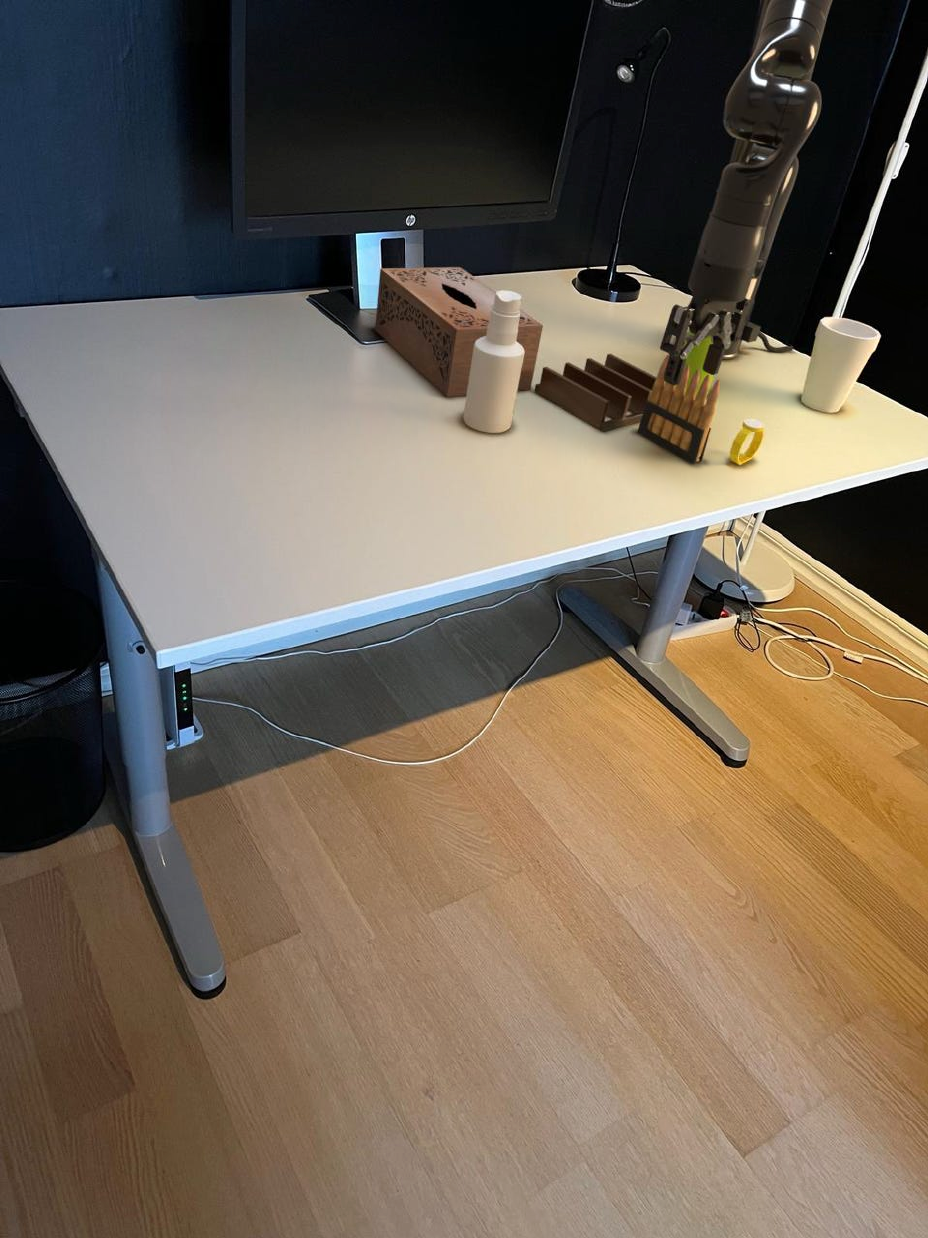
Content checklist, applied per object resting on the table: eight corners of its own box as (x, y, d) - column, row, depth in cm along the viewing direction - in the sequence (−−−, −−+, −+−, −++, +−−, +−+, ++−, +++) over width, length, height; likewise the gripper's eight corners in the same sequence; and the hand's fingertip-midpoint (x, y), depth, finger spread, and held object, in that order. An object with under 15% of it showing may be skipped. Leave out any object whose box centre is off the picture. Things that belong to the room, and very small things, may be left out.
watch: (744, 452, 135) (757, 414, 131) (760, 460, 134) (774, 422, 130) (721, 461, 131) (734, 423, 128) (737, 470, 130) (751, 431, 126)
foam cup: (802, 387, 160) (831, 312, 152) (855, 406, 156) (887, 330, 149) (784, 401, 153) (813, 324, 146) (838, 421, 150) (871, 343, 142)
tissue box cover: (530, 389, 142) (543, 325, 136) (447, 396, 136) (456, 329, 130) (452, 326, 159) (460, 266, 153) (374, 330, 153) (380, 268, 147)
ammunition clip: (701, 462, 130) (728, 381, 123) (693, 464, 129) (720, 383, 122) (644, 430, 136) (667, 351, 129) (636, 432, 135) (658, 352, 128)
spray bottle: (516, 420, 133) (540, 294, 122) (502, 438, 127) (526, 308, 116) (471, 407, 134) (491, 281, 123) (455, 425, 128) (475, 295, 118)
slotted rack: (600, 376, 151) (606, 351, 148) (669, 413, 143) (677, 387, 140) (534, 391, 142) (539, 365, 139) (603, 431, 134) (610, 404, 131)
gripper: (736, 242, 123) (700, 359, 133) (668, 251, 115) (635, 375, 125) (783, 260, 119) (743, 380, 129) (716, 271, 111) (678, 398, 120)
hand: (690, 377), depth 127 cm, fingers open, 8 cm apart
